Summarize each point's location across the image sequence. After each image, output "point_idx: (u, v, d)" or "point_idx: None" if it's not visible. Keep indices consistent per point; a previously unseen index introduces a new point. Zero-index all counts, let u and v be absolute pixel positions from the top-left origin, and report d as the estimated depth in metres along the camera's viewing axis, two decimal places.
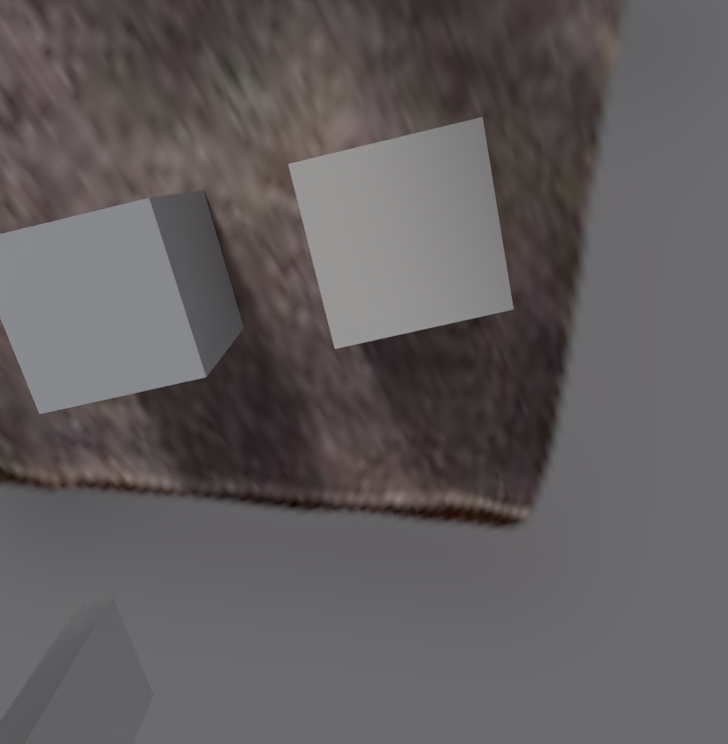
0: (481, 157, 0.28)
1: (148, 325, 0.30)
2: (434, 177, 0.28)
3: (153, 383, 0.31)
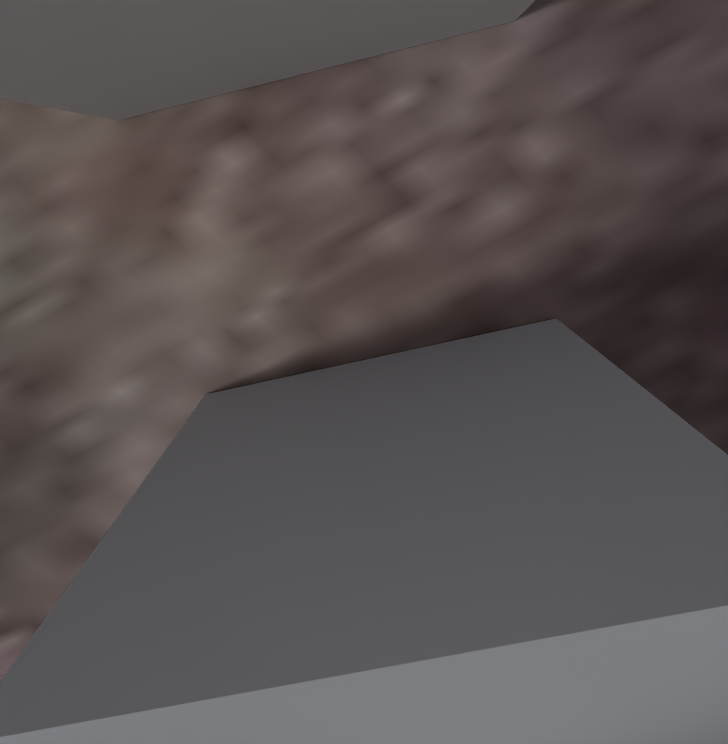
0: None
1: None
2: None
3: None
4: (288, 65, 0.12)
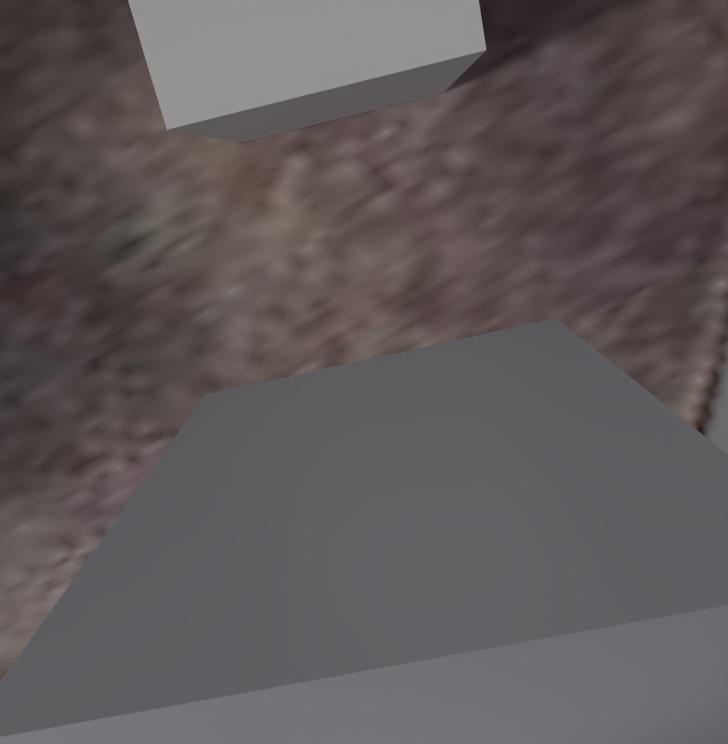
0: None
1: None
2: None
3: None
4: (329, 117, 0.25)
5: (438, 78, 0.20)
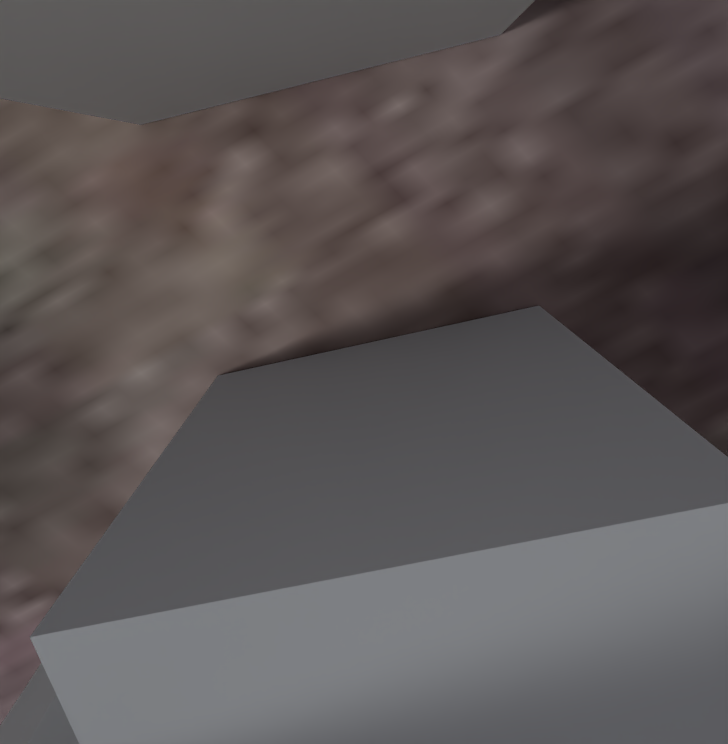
0: None
1: (519, 682, 0.08)
2: None
3: None
4: (296, 76, 0.14)
5: None
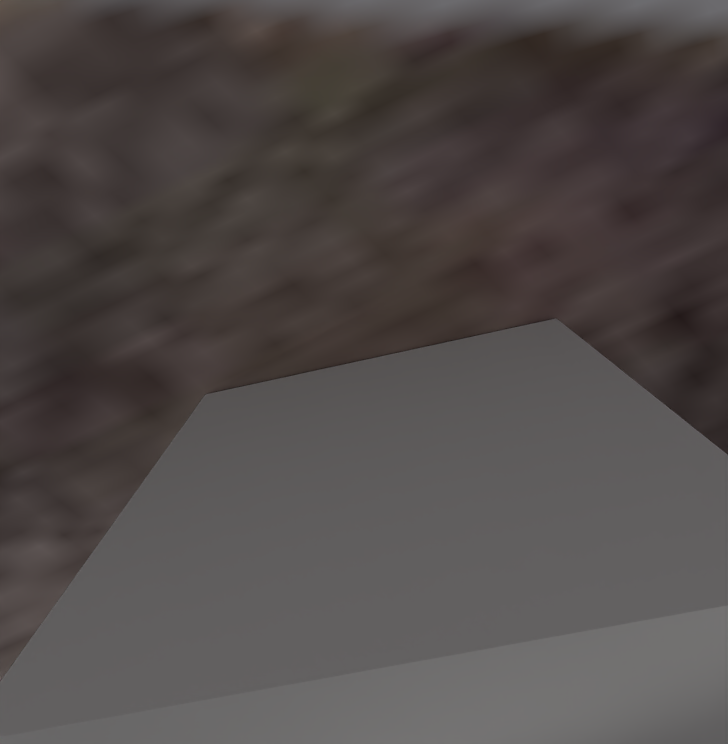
0: (126, 739, 0.06)
1: None
2: None
3: None
4: None
5: None
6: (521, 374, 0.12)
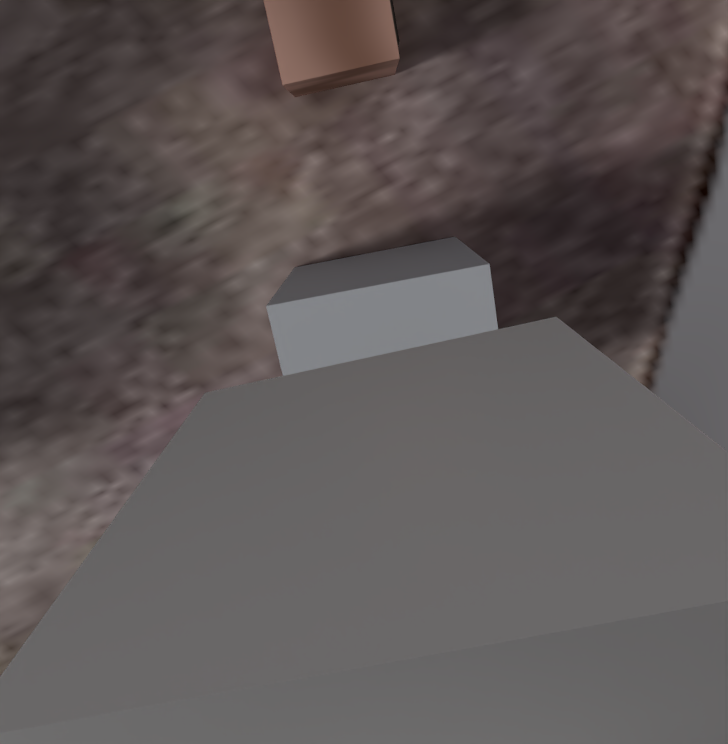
0: (125, 734, 0.06)
1: (416, 327, 0.25)
2: None
3: None
4: None
5: None
6: (521, 372, 0.12)
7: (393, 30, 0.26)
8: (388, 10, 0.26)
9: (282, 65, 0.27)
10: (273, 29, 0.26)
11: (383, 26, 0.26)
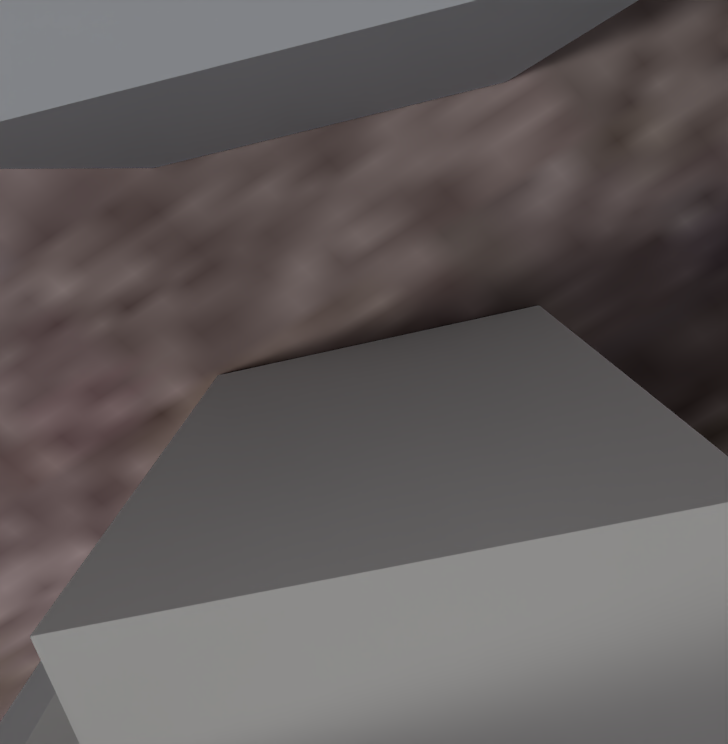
0: (169, 631, 0.08)
1: None
2: None
3: None
4: None
5: None
6: (504, 352, 0.14)
7: None
8: None
9: None
10: None
11: None
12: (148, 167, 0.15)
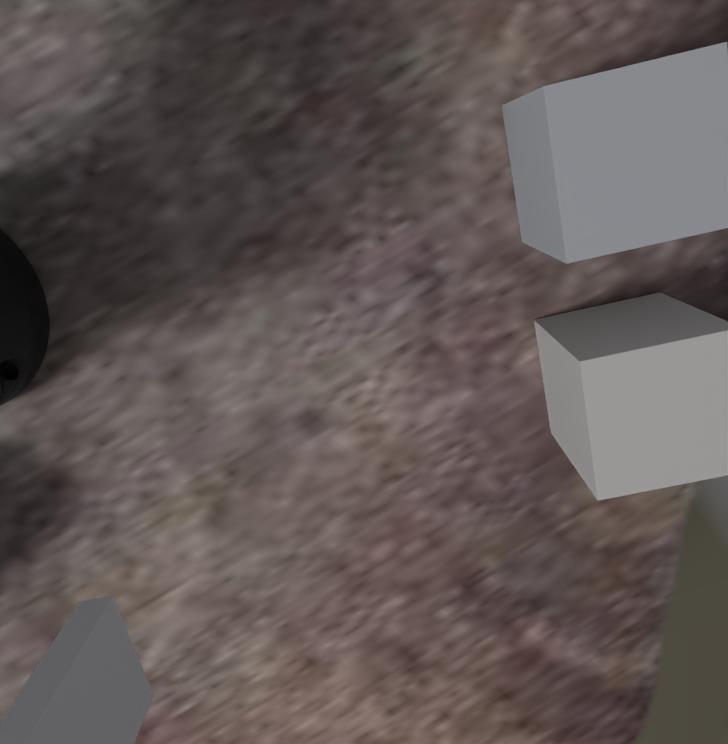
0: (609, 360, 0.35)
1: (663, 100, 0.31)
2: (620, 396, 0.35)
3: (724, 101, 0.31)
4: None
5: None
6: (656, 307, 0.41)
7: None
8: None
9: None
10: None
11: None
12: (524, 242, 0.42)
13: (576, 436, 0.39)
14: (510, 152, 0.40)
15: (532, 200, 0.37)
